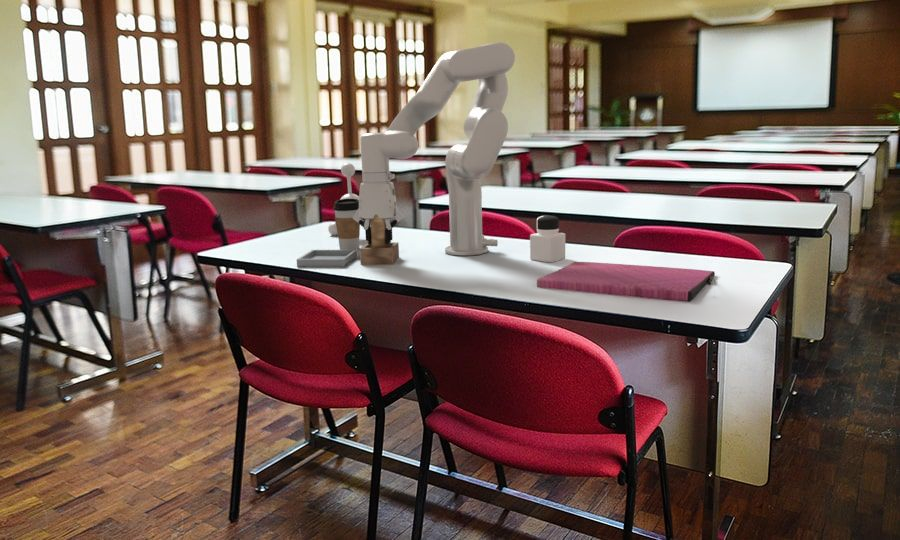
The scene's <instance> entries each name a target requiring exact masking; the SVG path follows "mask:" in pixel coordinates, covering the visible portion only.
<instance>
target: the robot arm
mask: <svg viewBox="0 0 900 540" xmlns="http://www.w3.org/2000/svg"><path fill="white" fill-rule="evenodd" d="M515 61H516V54H515V52H514V49H513V48H512V46H510V45H509V44H507V43H505V42H502V41H501V42H499V41H497V42H493V43H487V44H483V45H479V46H475V47H470V48H462V49H456V50H451V51H447V52H445V53H443V54H442V55H441V56H440V57H439V58H438V60H437V61H436V62H435V64H434V65H433V67H432V69H431V70H430V72H429V73H428V74H427V76H426V78H425V80H424V81H423V83H422V84H421V85H420V87H419V88H418V90H417V92H416V93H415V94H414V95H413V96H412V97H411V98H410V100H408V102H407V103H406V104H405V106H403V107H402V109H401V110H400V111H399V112H398V114H397V115H396V116H395V117H394V119H393V120H392V122H391V123H390V125H389V126H388V128H387V130H386V131H385V133H384V132H367V133H363V134H361V136H360V156H361V157H360V159H361V176H362V182H361V183H360V186H359V194H358V196H359V208H358V210H357V211H356V213H355V214H354V216H353V219H354V220H355V221H357V222H358V223H359V224H360V227H362V228H363V229H364V230H365V241H367V243H368V244H371V224H370V219H373V218H374V216H375V215H378V217H379V218H380V219H385V223H386V228H387V230H385V234H386V243H387V244H389V243H390V242H391V241H393V228H394V227H395V226H396V225H397V224H398V223H399V222H400V221H402V220H403V219H404V215H403V213H402V212H401V211H400V209H399V208H398V206H397V204H398V203H397V197H396V191H395V190H396V189H395V185H394V181H393V182H392V181H391V180H393V179H395V178H396V175H395V173H392V172H391V171H390V159H400V160H407V159H410V158H412V157H413V156H415V154H417V152H418V149H419V142H418V139H417V137H416V136H415V135H416V133H417V132H418V130H419V129H420V128H421V127H423V125H425V123H427V122H428V121H430V120H431V119H433V118H434V117H437V115H439V114H440V113H441V112H442V111H443V109H444V107H445V106H446V105H447V103H448V101H449V100H450V99H451V97H452V95H453V94H454V92H455V91H456V89H457V88H458V86H459V85H460V83H464V82H470V81H476V80H478V89H477V92H476V94H475V96H474V99H473V100H472V101H473V102H472V104H471V106H470V108H469V111H468V113H467V115H466V117H465V119H464V123H463V133H464V134H465V136H466V137H467V138H468V142H467V143H466V142H462V143H457V144H455V145H452V146H451V147H450V148H449V150H448V151H447V153H446V156H445V163H444V165H445V171H446V177H447V184H448V185H447V186H448V208H449V209H448V211H449V246H446V247H445V249H444V252H445V254H447V255H451V256H462V257H463V256H465V257H466V256H476V255H482V254H486V253H488V251H489V250H488V249H489V248H488V247H498V243H499V242H498V239H494V238H490V239H488V238H485V234H483V210H482V208H483V207H482V199H483V198H482V197H483V194H482V192H483V191H482V185H481V179H483V178H485V177H487V176H488V175H489V174H490V172H491V171H492V169H493V167H494V165H495V163H496V161H497V159H498V157H499V154H500V152H501V150H502V148H503V145H504V142H505V140H506V138H507V135H508V132H509V131H508V130H509V123H508V119H507V117H506V115H505V114H504V113H503V112H502V111H503V108H504V106H505V103H506V100H507V96H508V94H509V92H508V91H509V84H508V78H507V74H506V73H508V72H509V71H510V70H511V69H512V68H513V66H514V65H515V64H514V63H515ZM394 217H395V218H394ZM393 218H394V219H393Z"/></svg>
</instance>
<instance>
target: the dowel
mask: <svg viewBox="0 0 900 540" xmlns="http://www.w3.org/2000/svg"><path fill="white" fill-rule="evenodd" d="M370 224H371V225H370V226H371V243H372V248H387V243H386V234H385V230H387V226H386V223H385V219H380V218H379V217H378V215H375V216H374V218H373V219H370Z"/></svg>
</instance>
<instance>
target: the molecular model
mask: <svg viewBox="0 0 900 540" xmlns="http://www.w3.org/2000/svg"><path fill="white" fill-rule="evenodd" d="M355 168H356V167H355V165H354V164H352V163H351V162H344V163H343V164H342V165H341V168H340V172H341V175H342V176H344V177H346V181H347V193H345V194H344V195H342V196H341V198H340V199H358V200H359V195H357V194H355V193H353V190H352V179H351V177H353V176H354V175H355V173H356V169H355ZM327 229H328V233H329V234H330V235H331V236H338V233H337V227H336V221H334V222H332V223H330V224H329V225H328V228H327Z"/></svg>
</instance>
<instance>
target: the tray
mask: <svg viewBox="0 0 900 540" xmlns="http://www.w3.org/2000/svg"><path fill="white" fill-rule="evenodd" d="M357 258H358V249H357V250H340V249H311V250H310V251H308V252H306V253H305V254H303V255H302V256H299V257H298V258H297V259H296V267H297V268H298V267H299V268H346V267H347V266H348V265H349V264H350V263H351V262H353V261H354V260H355V259H357ZM300 266H301V267H300ZM303 266H305V267H303ZM306 266H307V267H306Z"/></svg>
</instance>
